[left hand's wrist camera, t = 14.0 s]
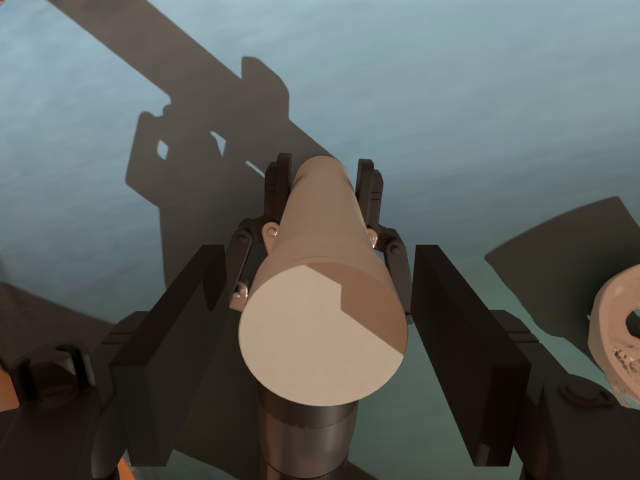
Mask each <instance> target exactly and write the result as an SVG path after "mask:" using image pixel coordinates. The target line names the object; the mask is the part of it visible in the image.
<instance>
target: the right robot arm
mask: <svg viewBox="0 0 640 480" xmlns="http://www.w3.org/2000/svg"><path fill="white" fill-rule="evenodd" d="M291 163H292V154H291V153H280V154H279V155H278V157H277V162H271V164H270V165H269V166H268V169H267V171H266V173H265V202H264V215H263V216H261V217H259V218H255V219H250V218H247V219H244V220H243V221H242V222H241V223H240V225H239V228H238V229H237V230H236V231H235V233H234V234H233V236H232V239H231V242H230V245H229V248H228V251H227V254H226V257H225V262H226V273H227V283H228V294H229V305H230V308H232V309H235V310H238V311H241V312H242V311H243V308H244V306H245V303H246V300H247V297H248V295H249V292H250V282H249V280H248V279H247V278H246V277H244V276H242V273H243V270H244V267H245V264H246V262H247V259H248V256H249V253H250V250H251V248H252V245H253V244H257V243H261V242H265V246H266V249H267V253H268V255H269V254H270V253H271V251H272V247H273V244H274V241H275V238H276V235H277V232H278V229H279V226H280V223H281V220H282V217H283V213H284V210H285V207H286V204H287V201H288V198H289V195H290V187H291ZM382 190H383V180H382V176H381V173H380V172H379V171H378V170H374V163H373V162H372V160H371V159H359V163H358V171H357V181H356V191H355V196H356V199H357V202H358V205H359V208H360V211H361V214H362V217H363V220H364V223H365V226H366V229H367V232H368V235H369V238H370V241H371V243H372V246H373V249H376V250H378V251H380V252H383V254H384V259H385V264H386V268H387V269H388V271H389V274H390V276H391V279H392V281H393V284H394V286H395V289H396V292H397V294H398V297H399V299H400V302H401V305H402V307H403V310H404V313H405V316H406V320H407V325H409V324H412V323H414V321H413V318H412V316H411V313H410V305H411V294H412V281H411V275H410V270H409V264H408V259H407V253H406V248H405V245H404V243H403V242H402V240H401V238H400V236H399V234H398V233H397V231H396V230H394V229H392V228H386V227H383V226H381V225H380V224H379V223H378V221H379V213H380V205H381V198H382ZM358 401H359V399H358V400H356V401H353V402H350V403H345V404H341V405H333V406H313V405H306V404H301V403H297V402H294V401H290V400H288V399H286V398H283V397H281V396H279V395H277V394H275V393H274V392H272V391H271V390H269V389H268V388H266V387H265V386H264V385H263V384H262V383H261V382H260V381H258V380H257V427H258V433H259V480H346V479H345V475H346V468H347V460H348V452H349V445H350V442H351V439H352V435H353V432H354V428H355V423H356V416H357V409H358Z"/></svg>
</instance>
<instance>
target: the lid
mask: <svg viewBox="0 0 640 480" xmlns="http://www.w3.org/2000/svg"><path fill="white" fill-rule="evenodd" d="M238 338H239V346H240V350H241V353H242V356H243V358H244V361H245V363H246V365H247V366H248V368H249V369H250V371H251V372H252V374H253V375H254V376H255V377H256V379H257V380H258V381H260V382H261V383H262V384H263V385H264V386H265V387H266V388H268V389H269V390H271V391H272V392H274V393H275V394H277V395H279V396H281V397H283V398H286V399H288V400H290V401H294V402H297V403H301V404H306V405H313V406H333V405H341V404H345V403H350V402H353V401H356V400H358V399H361V398H363V397H365V396H367V395H369V394H371V393H372V392H374V391H376V390H377V389H379V388H380V387H381V386H382V385H384V384H385V383H386V382H387V381H388V380H389V379H390V378H391V377H392V375H393V374H394V373H395V371H396V370H397V369H398V367H399V365H400V363H401V361H402V359H403V357H404V354H405V351H406V347H407V342H408V326H407V320H406V316H405V313H404V310H403V307H402V305H401V302H400V299H399V297H398V294H397V292H396V289H395V286H394V284H393V281H392V279H391V276H390V274H389V271H388V269H387V268H386V266H385V264H384V263H383V261H382V260H381V259H380V258H379V256H378V255H377V254H376V253H375V252H373V251H372V250H371V249H370V248H369V247H367V246H366V245H364V244H363V243H361V242H359V241H357V240H355V239H353V238H350V237H347V236H344V235H339V234H334V233H312V234H306V235H302V236H299V237H296V238H293V239H291V240H289V241H287V242H285V243H283V244H282V245H280V246H279V247H277V248H276V249H275V250H273V251H272V252H271V253H270V254H269V255H268V256H267V257H266V258H265V260H264V261H263V263H262V264H261V265H260V267H259V269H258V271H257V273H256V276H255V278H254V281H253V284H252V287H251V289H250V292H249V295H248V297H247V300H246V303H245V306H244V308H243V311H242V314H241V317H240V322H239V328H238Z"/></svg>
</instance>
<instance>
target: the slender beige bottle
mask: <svg viewBox="0 0 640 480" xmlns="http://www.w3.org/2000/svg"><path fill="white" fill-rule="evenodd" d="M312 233H334V234H339V235H344V236H347V237H350V238H353V239H355V240H357V241H359V242H361V243H363V244H364V245H366V246H367V247H369V248H370V249H371V250H372V251H373V252H374V249H373V246H372V243H371V241H370V238H369V235H368V232H367V229H366V226H365V223H364V220H363V217H362V214H361V211H360V208H359V205H358V202H357V199H356V196H355V193H354V190H353V187H352V184H351V181H350V178H349V175H348V173H347V170H346V169H345V167H344V166H343V164H341V163H340V162H339V161H338V160H336V159H335V158H332V157H329V156H315V157H312V158H310V159H308V160H306V161H305V162H304V163H303V164H302V165H301V166H300V168H299V169H298V171H297V173H296V176H295V179H294V183H293V186H292V189H291V192H290V195H289V198H288V201H287V204H286V207H285V210H284V213H283V217H282V220H281V223H280V226H279V229H278V232H277V235H276V238H275V241H274V244H273V247H272V251H273V250H275V249H276V248H277V247H279V246H280V245H282V244H283V243H285V242H287V241H289V240H291V239H293V238H296V237H299V236H302V235H306V234H312ZM272 251H271V252H272Z"/></svg>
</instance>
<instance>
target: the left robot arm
mask: <svg viewBox="0 0 640 480" xmlns="http://www.w3.org/2000/svg"><path fill="white" fill-rule="evenodd" d="M229 313H230V305H229V294H228V283H227V273H226V262H225V251H224V245H202V246H201V248H200V249H199V250H198V251H197V253H196V254H195V255H194V256H193V258H192V259H191V260H190V261H189V263H188V264H187V265H186V267H185V268H184V269H183V270H182V272H181V273H180V274H179V275H178V277H177V278H176V279H175V280H174V282H173V283H172V284H171V285H170V287H169V288H168V289H167V291H166V292H165V293H164V294H163V296H162V297H161V298H160V299H159V301H158V302H157V303H156V304H155V306H154V307H153V308H152V310H151V311H136V312H134V313H132V314H131V315H129V316H127V317H126V318H124V319H123V320H121V321H120V322H119V323H118V324H117V325H116V326H115V327H114V328H113V329H112V331H111V332H110V335H107V336H106V337H105V338H104V340H103V341H102V342H101V345H98V346H97V347H96V349H95V350H94V351H93V352H92V353H91V354H90V353H89V349H88V347H87V346H86V345H84V344H83V343H81V342H75V341H65V342H57V343H53V344H49V345H45V346H42V347H40V348H37V349H35V350H33V351H30V352H28V353H27V354H25V355H23V356H22V357H20V358H19V359H17V360H16V361H15V362H14V363H13V364H12V365H11V366H10V367H9V369H8V371H9V374H10V377H11V380H12V383H13V386H14V389H15V392H16V395H17V397H18V401H19V403H20V405H19V407H18V408H16V409H12V410H7V411H2V412H0V480H120V477H119V471H118V467H117V465H118V463H119V461H120V459H121V457H122V455H123V454H124V452H125V450H126V448H127V450H128V454H129V458H130V463H131V466H166V464H167V462H168V460H169V457H170V455H171V452H172V450H173V448H174V445H175V443H176V440H177V438H178V436H179V433H180V431H181V428H182V426H183V424H184V421H185V419H186V416H187V414H188V412H189V409H190V407H191V404H192V402H193V400H194V397H195V395H196V392H197V390H198V388H199V385H200V383H201V380H202V378H203V376H204V373H205V371H206V368H207V366H208V364H209V361H210V359H211V356H212V354H213V352H214V349H215V347H216V344H217V342H218V340H219V337H220V335H221V332H222V330H223V328H224V325H225V323H226V321H227V318H228V316H229ZM410 313H411V316H412V318H413V321H414V323H415V325H416V328H417V330H418V333H419V335H420V337H421V340H422V342H423V344H424V347H425V349H426V352H427V354H428V356H429V359H430V361H431V364H432V366H433V368H434V371H435V373H436V376H437V378H438V380H439V383H440V385H441V388H442V390H443V392H444V395H445V397H446V400H447V402H448V404H449V407H450V409H451V412H452V414H453V416H454V419H455V421H456V424H457V426H458V428H459V431H460V433H461V436H462V438H463V440H464V443H465V445H466V448H467V450H468V452H469V455H470V457H471V460H472V462H473V464H474V466H509V463H510V458H511V454H512V450H513V446H514V448H515V450H516V452H517V453H518V455H519V457H520V459H521V461H522V462H523V467H522V471H521V475H520V479H519V480H640V410H637V409H632V408H628V407H624V406H621V404H620V403H619V402H618V400H617V399H616V398H615V396H614V395H613V394H612V393H610V392H609V391H608V390H606V389H605V388H604V387H602V386H601V385H599V384H597V383H595V382H593V381H591V380H589V379H586V378H583V377H580V376H576V375H573V374H568V372H567V371H566V370H565V369H564V368H563V367H562V366H561V365H560V363H559V362H558V361H557V360H556V359H555V358H554V357H553V356H552V355H551V353H550V352H549V351H548V350H547V349H546V348H545V347H544V346H543V345H542V343H539V340H538V339H537V338H536V337H535V336H534V334H531V331H530V330H529V329H528V328H527V327H526V326H525V324H524V323H523V322H522V321H521V320H520V319H518V318H517V317H515V316H513V315H512V314H510V313H508V312H507V311H505V310H488V308H487V307H486V306H485V304H484V303H483V302H482V301H481V299H480V298H479V297H478V296H477V294H476V293H475V292H474V291H473V289H472V288H471V287H470V285H469V284H468V283H467V282H466V280H465V279H464V278H463V277H462V275H461V274H460V273H459V272H458V270H457V269H456V268H455V267H454V265H453V264H452V263H451V261H450V260H449V259H448V258H447V256H446V255H445V254H444V253H443V251H442V250H441V249H440V248H439V246H438V245H416V251H415V262H414V273H413V283H412V294H411V305H410Z"/></svg>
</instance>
